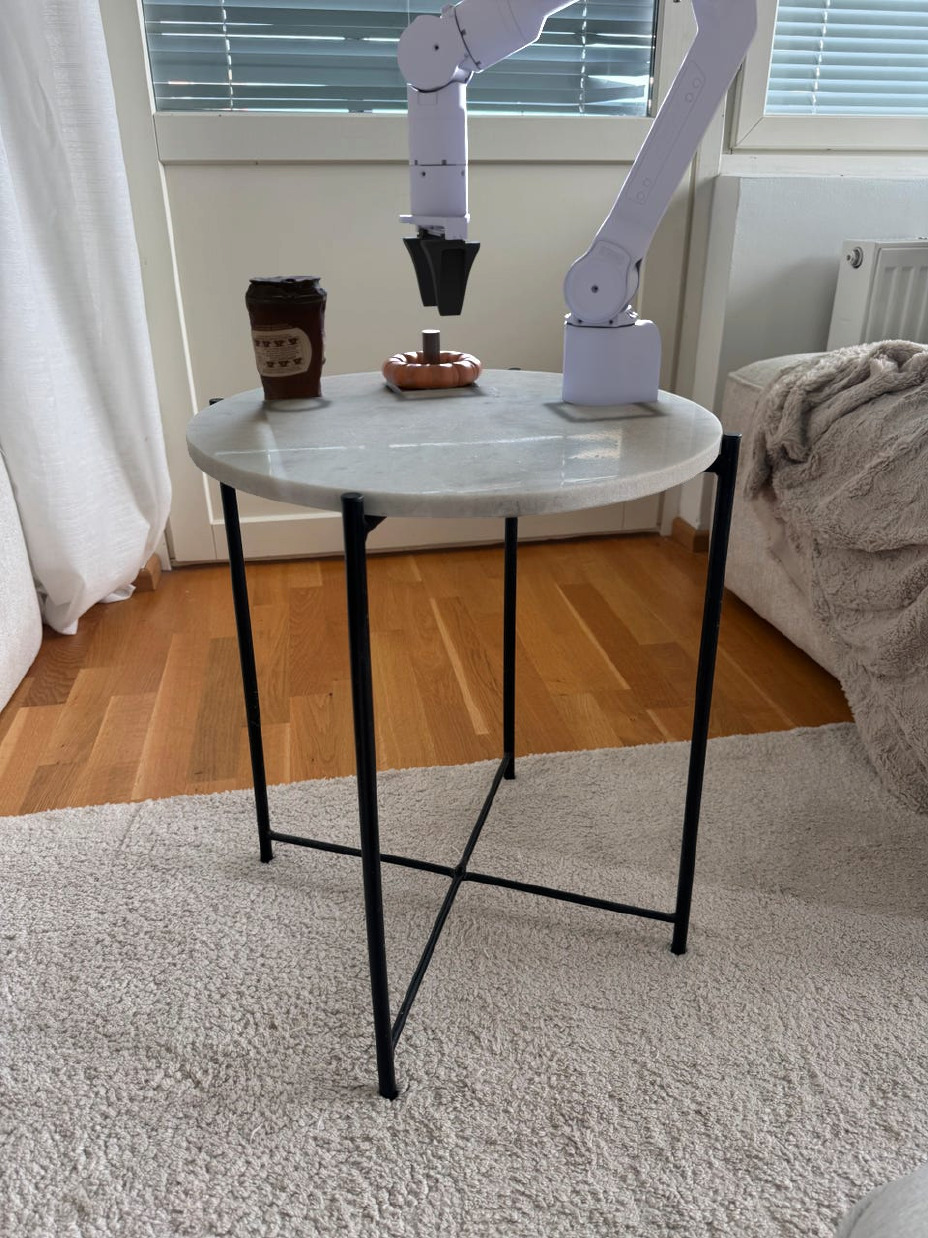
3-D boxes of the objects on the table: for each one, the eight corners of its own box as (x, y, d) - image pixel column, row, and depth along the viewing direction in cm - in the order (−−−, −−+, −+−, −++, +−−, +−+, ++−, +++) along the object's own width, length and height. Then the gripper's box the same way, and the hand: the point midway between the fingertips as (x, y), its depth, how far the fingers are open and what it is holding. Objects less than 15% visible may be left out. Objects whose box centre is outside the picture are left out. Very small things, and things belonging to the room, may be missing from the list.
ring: (467, 369, 111) (467, 347, 110) (492, 387, 101) (492, 363, 100) (375, 374, 108) (374, 351, 107) (392, 394, 99) (391, 369, 98)
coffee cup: (317, 415, 94) (307, 281, 89) (242, 412, 96) (227, 280, 90) (344, 397, 102) (336, 273, 96) (274, 394, 104) (262, 272, 98)
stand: (459, 379, 110) (459, 323, 107) (480, 395, 102) (480, 335, 100) (386, 384, 108) (383, 327, 105) (402, 400, 100) (399, 339, 98)
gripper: (384, 166, 95) (390, 303, 101) (413, 165, 83) (418, 321, 89) (450, 166, 97) (452, 301, 103) (488, 164, 84) (488, 318, 90)
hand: (441, 310), depth 96 cm, fingers open, 7 cm apart
